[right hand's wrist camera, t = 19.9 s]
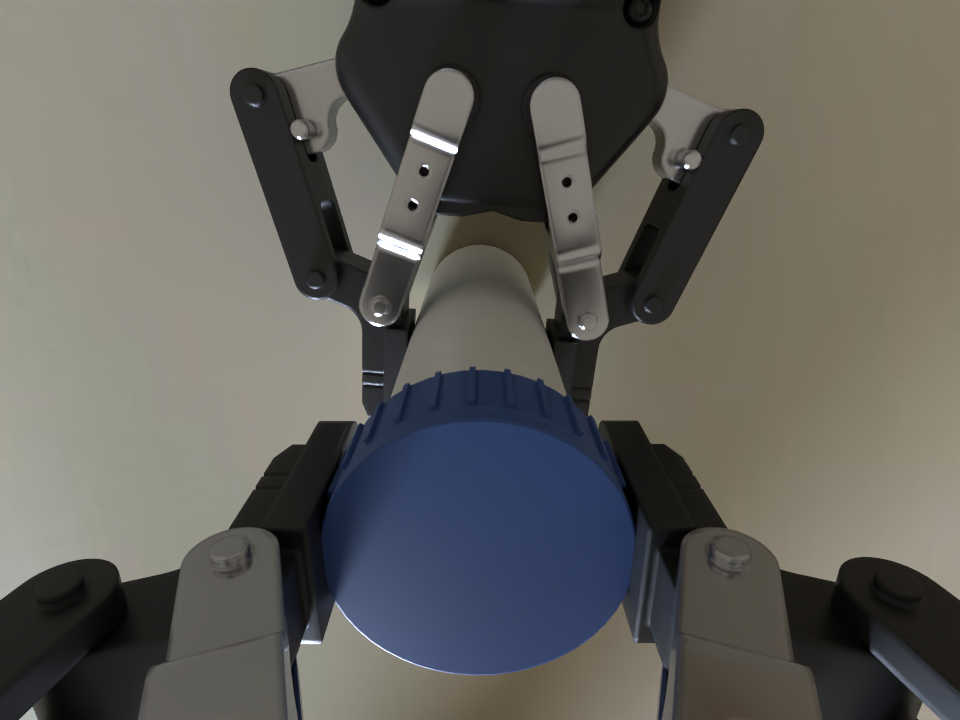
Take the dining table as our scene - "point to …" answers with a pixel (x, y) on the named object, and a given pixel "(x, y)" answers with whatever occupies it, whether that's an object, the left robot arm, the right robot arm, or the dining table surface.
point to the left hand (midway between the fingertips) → (474, 428)
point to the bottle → (479, 321)
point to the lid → (478, 525)
